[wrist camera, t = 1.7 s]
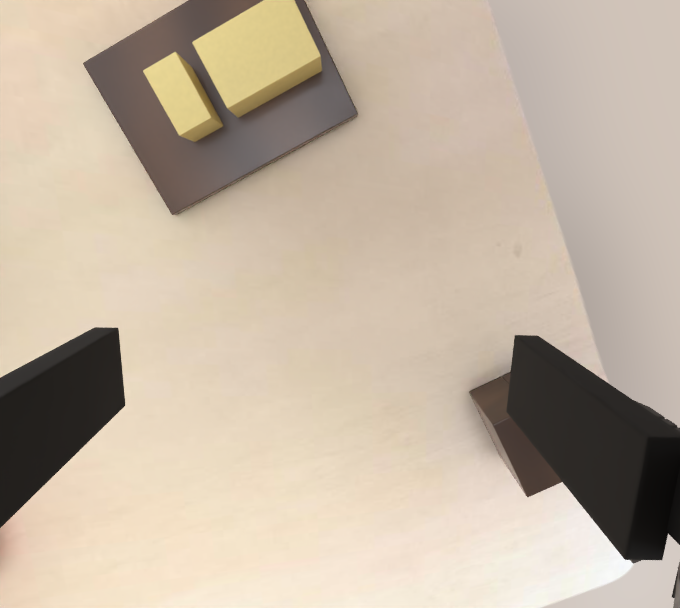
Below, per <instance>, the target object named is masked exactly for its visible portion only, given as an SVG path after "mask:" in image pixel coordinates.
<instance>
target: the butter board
mask: <svg viewBox="0 0 680 608" xmlns="http://www.w3.org/2000/svg"><path fill="white" fill-rule="evenodd" d="M262 1H263V0H189V1H187V2H185V3H184V4H182V5H180V6H179V7H177V8H175V9H174V10H172V11H170V12H169V13H167V14H165V15H163V16H162V17H160V18H158V19H157V20H155V21H153V22H152V23H150V24H148V25H147V26H145V27H143V28H142V29H140V30H138V31H136V32H135V33H133V34H131V35H130V36H128V37H126V38H125V39H123V40H121V41H120V42H118V43H116V44H115V45H113V46H111V47H109V48H108V49H106V50H104V51H103V52H101V53H99V54H98V55H96V56H94V57H93V58H91V59H89V60H87V61H86V62H84V63H83V64H84V66H85V68H86V70H87V71H88V73H89V75H90V76H91V78H92V80H93V81H94V83H95V85H96V86H97V88H98V90H99V92H100V93H101V95H102V97H103V98H104V100H105V102H106V103H107V105H108V107H109V109H110V110H111V112H112V114H113V115H114V117H115V119H116V120H117V122H118V124H119V125H120V127H121V129H122V131H123V132H124V134H125V136H126V137H127V139H128V141H129V142H130V144H131V146H132V147H133V149H134V151H135V153H136V154H137V156H138V158H139V159H140V161H141V163H142V164H143V166H144V168H145V170H146V171H147V173H148V175H149V176H150V178H151V180H152V181H153V183H154V185H155V186H156V188H157V190H158V192H159V193H160V195H161V197H162V198H163V200H164V202H165V203H166V205H167V207H168V208H169V210H170V212H171V214H172V215H176V214H179V213H180V212H182V211H184V210H186V209H188V208H190V207H191V206H193V205H195V204H197V203H199V202H201V201H202V200H204V199H206V198H208V197H210V196H212V195H213V194H215V193H217V192H219V191H221V190H223V189H224V188H226V187H228V186H230V185H232V184H234V183H235V182H237V181H239V180H241V179H243V178H245V177H246V176H248V175H250V174H252V173H254V172H256V171H257V170H259V169H261V168H263V167H265V166H267V165H268V164H270V163H272V162H274V161H276V160H278V159H279V158H281V157H283V156H285V155H287V154H289V153H290V152H292V151H294V150H296V149H298V148H300V147H301V146H303V145H305V144H307V143H309V142H311V141H312V140H314V139H316V138H318V137H320V136H322V135H323V134H325V133H327V132H329V131H331V130H333V129H334V128H336V127H338V126H340V125H342V124H344V123H345V122H347V121H349V120H351V119H353V118H355V117H356V116H357V114H358V113H357V111H356V108H355V106H354V104H353V102H352V100H351V98H350V96H349V94H348V92H347V89H346V87H345V85H344V83H343V81H342V79H341V77H340V75H339V73H338V70H337V68H336V66H335V64H334V62H333V60H332V58H331V56H330V54H329V51H328V49H327V47H326V45H325V43H324V41H323V39H322V37H321V35H320V32H319V30H318V28H317V26H316V24H315V22H314V20H313V18H312V16H311V13H310V11H309V9H308V7H307V5H306V3H305V1H304V0H295V3H296V5H297V7H298V9H299V11H300V13H301V15H302V17H303V19H304V21H305V23H306V26H307V28H308V30H309V32H310V34H311V36H312V38H313V40H314V42H315V44H316V47H317V49H318V51H319V53H320V55H321V65H322V71H321V72H319V73H317V74H316V75H314V76H312V77H310V78H308V79H307V80H305V81H303V82H301V83H300V84H298V85H296V86H294V87H292V88H291V89H289V90H287V91H285V92H283V93H282V94H280V95H278V96H276V97H275V98H273V99H271V100H269V101H267V102H266V103H264V104H262V105H260V106H258V107H257V108H255V109H253V110H251V111H250V112H248V113H246V114H244V115H242V116H241V117H239V118H238V117H237V116H236V115H234V114H233V113H232V112H231V111H230V110H229V109H227V107H226V105H225V103H224V102H223V100H222V98H221V96H220V94H219V92H218V90H217V88H216V87H215V85H214V83H213V81H212V79H211V77H210V75H209V73H208V72H207V70H206V68H205V66H204V64H203V62H202V60H201V59H200V57H199V55H198V53H197V51H196V49H195V47H194V45H193V44H192V42H193V41H195V40H196V39H198V38H200V37H202V36H203V35H205V34H207V33H208V32H210V31H212V30H214V29H215V28H217V27H219V26H220V25H222V24H224V23H226V22H227V21H229V20H231V19H232V18H234V17H236V16H238V15H239V14H241V13H243V12H245V11H246V10H248V9H250V8H251V7H253V6H255V5H257V4H258V3H260V2H262ZM174 52H176V53H177V54H178V55H179V56H181V57H182V58H183V59H184V60H185V61H186V62H187V63H188V64H189V65H190V66H191V67H192V68H193V70H194V72H195V74H196V76H197V77H198V79H199V81H200V83H201V85H202V87H203V89H204V90H205V92H206V94H207V96H208V98H209V100H210V102H211V103H212V105H213V107H214V109H215V111H216V113H217V115H218V116H219V118H220V120H221V122H222V124H223V127H221V128H219V129H217V130H216V131H214V132H212V133H210V134H209V135H207V136H205V137H203V138H201V139H200V140H198V141H196V142H193V141H191V140H189V139H186V138H184V137H181V136H179V134H178V133H177V131H176V129H175V127H174V125H173V124H172V122H171V120H170V118H169V117H168V115H167V113H166V111H165V110H164V108H163V106H162V104H161V102H160V101H159V99H158V97H157V95H156V94H155V92H154V90H153V88H152V87H151V85H150V83H149V81H148V79H147V78H146V76H145V74H144V72H143V70H145V69H146V68H148V67H150V66H152V65H153V64H155V63H157V62H158V61H160V60H162V59H164V58H165V57H167V56H169V55H170V54H172V53H174Z"/></svg>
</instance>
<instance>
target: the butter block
mask: <svg viewBox="0 0 680 608" xmlns="http://www.w3.org/2000/svg"><path fill="white" fill-rule="evenodd" d="M192 44H193V45H194V47H195V49H196V51H197V53H198V55H199V57H200V59H201V60H202V62H203V64H204V66H205V68H206V70H207V72H208V73H209V75H210V77H211V79H212V81H213V83H214V85H215V87H216V88H217V90H218V92H219V94H220V96H221V98H222V100H223V102H224V103H225V105H226V107H227V109H229V110H230V111H231V112H232V113H233V114H234V115H236V116H237V117H238V118H239V117H241V116H242V115H244V114H246V113H248V112H250V111H251V110H253V109H255V108H257V107H258V106H260V105H262V104H264V103H266V102H267V101H269V100H271V99H273V98H275V97H276V96H278V95H280V94H282V93H283V92H285V91H287V90H289V89H291V88H292V87H294V86H296V85H298V84H300V83H301V82H303V81H305V80H307V79H308V78H310V77H312V76H314V75H316V74H317V73H319V72H321V71H322V65H321V55H320V53H319V51H318V49H317V47H316V44H315V42H314V40H313V38H312V36H311V34H310V32H309V30H308V28H307V26H306V23H305V21H304V19H303V17H302V15H301V13H300V11H299V9H298V7H297V5H296V3H295V0H263V1H262V2H260V3H258V4H257V5H255V6H253V7H251V8H250V9H248V10H246V11H245V12H243V13H241V14H239V15H238V16H236V17H234V18H232V19H231V20H229V21H227V22H226V23H224V24H222V25H220V26H219V27H217V28H215V29H214V30H212V31H210V32H208V33H207V34H205V35H203V36H202V37H200V38H198V39H196V40H195V41H193V42H192Z"/></svg>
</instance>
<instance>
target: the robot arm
mask: <svg viewBox="0 0 680 608" xmlns="http://www.w3.org/2000/svg"><path fill="white" fill-rule="evenodd" d="M124 406H125V397H124V386H123V375H122V364H121V353H120V342H119V331H118V328H93V329H91V330H89V331H87V332H85V333H84V334H82V335H80V336H78V337H76V338H74V339H72V340H70V341H69V342H67V343H65V344H63V345H61V346H59V347H57V348H55V349H54V350H52V351H50V352H48V353H46V354H44V355H42V356H40V357H39V358H37V359H35V360H33V361H31V362H29V363H27V364H25V365H23V366H22V367H20V368H18V369H16V370H14V371H12V372H10V373H8V374H7V375H5V376H3V377H1V378H0V528H1V527H2V526H3V525H4V524H5V523H6V522H7V521H8V520H9V519H10V518H11V517H12V516H13V515H14V514H15V513H16V512H17V511H18V510H19V509H20V508H21V507H22V506H23V505H24V504H25V503H26V502H27V501H28V500H29V499H30V498H31V497H32V496H33V495H34V494H35V493H36V492H37V491H38V490H39V489H40V488H41V487H42V486H44V485H45V484H46V483H47V482H48V481H49V480H50V479H51V478H52V477H53V476H54V475H55V474H56V473H57V472H58V471H59V470H60V469H61V468H62V467H63V466H64V465H65V464H66V463H67V462H68V461H69V460H70V459H71V458H72V457H73V456H74V455H75V454H76V453H77V452H78V451H79V450H80V449H81V448H82V447H83V446H84V445H85V444H86V443H87V442H88V441H89V440H90V439H91V438H92V437H94V436H95V435H96V434H97V433H98V432H99V431H100V430H101V429H102V428H103V427H104V426H105V425H106V424H107V423H108V422H109V421H110V420H111V419H112V418H113V417H114V416H115V415H116V414H117V413H118V412H119V411H120V410H121V409H122V408H123V407H124ZM506 412H507V413H508V414H509V416H510V417H511V418H512V419H513V421H514V422H515V423H516V424H517V426H518V427H519V428H520V429H521V431H522V432H523V433H524V434H525V436H526V437H527V438H528V439H529V441H530V442H531V443H532V444H533V446H534V447H535V448H536V449H537V451H538V452H539V453H540V454H541V455H542V457H543V458H544V459H545V460H546V462H547V463H548V464H549V465H550V467H551V468H552V469H553V470H554V472H555V473H556V474H557V475H558V477H559V478H560V479H561V480H562V482H563V483H564V484H565V485H566V487H567V488H568V489H569V490H570V492H571V493H572V494H573V495H574V497H575V498H576V499H577V500H578V502H579V503H580V504H581V505H582V507H583V508H584V509H585V510H586V512H587V513H588V514H589V515H590V517H591V518H592V519H593V520H594V522H595V523H596V524H597V525H598V527H599V528H600V529H601V530H602V532H603V533H604V534H605V535H606V537H607V538H608V539H609V540H610V541H611V543H612V544H613V545H614V546H615V548H616V549H617V550H618V551H619V553H620V554H621V555H622V556H623V558H624V559H625V560H662V558H663V554H664V549H665V544H666V540H667V535H668V534H669V535H671V537H673V539H674V540H676V542H677V543H678V544H679V545H680V428H677V425H675V424H674V423H672V422H671V421H669V420H668V419H665V418H664V417H663V416H662V415H660V414H659V413H657V412H656V411H654V410H653V409H651V408H650V407H648V406H645V405H643V404H641V403H638V402H636V401H634V400H632V399H630V398H629V397H627V396H626V395H625V394H623V393H622V392H620V391H618V390H617V389H616V388H614V387H613V386H611V385H610V384H608V383H607V382H605V381H604V380H602V379H601V378H599V377H598V376H596V375H595V374H594V373H592V372H591V371H589V370H588V369H586V368H585V367H583V366H582V365H580V364H579V363H577V362H576V361H574V360H573V359H571V358H570V357H568V356H567V355H565V354H564V353H563V352H561V351H560V350H558V349H557V348H555V347H554V346H552V345H551V344H549V343H548V342H546V341H545V340H543V339H542V338H540V337H539V336H523V335H515V339H514V348H513V357H512V366H511V374H510V383H509V392H508V401H507V410H506ZM672 597H673V598H675V600H674V607H673V608H680V563H679V567H678V572H677V576H676V581H675V585H674V589H673V594H672Z"/></svg>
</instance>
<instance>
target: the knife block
mask: <svg viewBox="0 0 680 608" xmlns="http://www.w3.org/2000/svg"><path fill="white" fill-rule="evenodd" d="M510 374H511V373H508V374H506V375H504V376H502V377H500V378H497V379H495V380H493V381H491V382H489V383H487V384H485V385H483V386H481V387H478V388H476V389H474V390H472V391H470V392H469V393H470V395H471V397H472V399H473V401H474V403H475V405H476V407H477V409H478V412H479V414H480V416H481V418H482V420H483V422H484V424H485V426H486V428H487V430H488V432H489V434H490V436H491V438H492V440H493V442H494V445H495V447H496V449H497V451H498V453H499V455H500V456H501V458H502V460H503V461H504V463H505V464H506V466H507V467H508V469H509V470H510V472H511V473H512V475H513V476H514V478H515V479H516V481H517V482H518V484H519V485H520V487H521V489H522V490H523V492H524V493H525V495H526V496H527V497H529V496H532V495H534V494H536V493H538V492H541V491H543V490H545V489H547V488H550V487H552V486H554V485H556V484H559V483H561V482H562V480H561V479H560V478H559V477H558V475H557V474H556V473H555V472H554V470H553V469H552V468H551V467H550V465H549V464H548V463H547V462H546V460H545V459H544V458H543V457H542V455H541V454H540V453H539V452H538V451H537V449H536V448H535V447H534V446H533V444H532V443H531V442H530V441H529V439H528V438H527V437H526V436H525V434H524V433H523V432H522V431H521V429H520V428H519V427H518V426H517V424H516V423H515V422H514V421H513V419H512V418H511V417H510V416H509V414H508V413H507V412H506V410H507V401H508V392H509V383H510Z"/></svg>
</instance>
